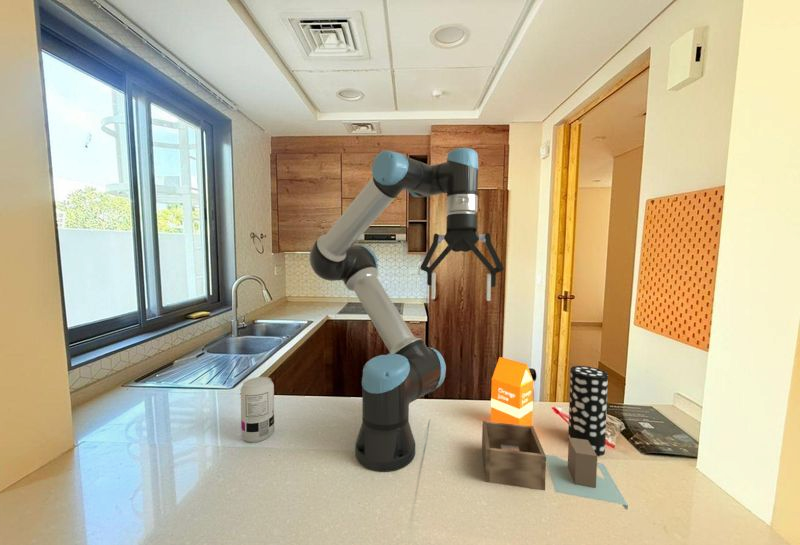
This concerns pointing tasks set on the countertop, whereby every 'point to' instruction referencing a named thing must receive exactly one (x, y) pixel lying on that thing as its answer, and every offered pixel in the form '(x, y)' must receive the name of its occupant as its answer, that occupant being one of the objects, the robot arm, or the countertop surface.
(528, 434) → the storage box
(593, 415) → the white-spotted black cylinder
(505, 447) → the metal cube
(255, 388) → the supplement can
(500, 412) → the orange juice
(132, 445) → the countertop surface
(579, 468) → the lid
